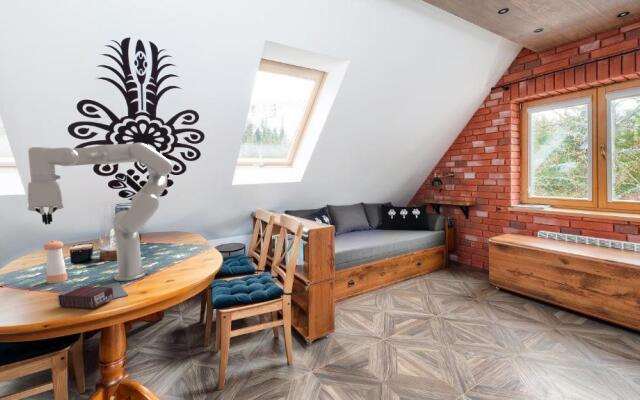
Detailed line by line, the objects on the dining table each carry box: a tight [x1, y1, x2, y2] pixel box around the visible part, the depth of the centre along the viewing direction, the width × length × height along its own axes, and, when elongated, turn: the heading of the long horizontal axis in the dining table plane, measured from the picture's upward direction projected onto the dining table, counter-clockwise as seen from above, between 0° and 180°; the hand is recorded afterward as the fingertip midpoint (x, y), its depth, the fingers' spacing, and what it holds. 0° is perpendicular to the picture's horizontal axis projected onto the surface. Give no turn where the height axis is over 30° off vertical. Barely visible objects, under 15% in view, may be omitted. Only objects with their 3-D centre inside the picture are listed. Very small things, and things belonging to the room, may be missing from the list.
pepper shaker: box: [43, 239, 68, 284], centre depth 143 cm, size 7×7×19 cm
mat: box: [96, 281, 129, 301], centre depth 127 cm, size 14×20×1 cm
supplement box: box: [56, 285, 115, 309], centre depth 117 cm, size 9×5×16 cm
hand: (47, 223), depth 126 cm, fingers closed
